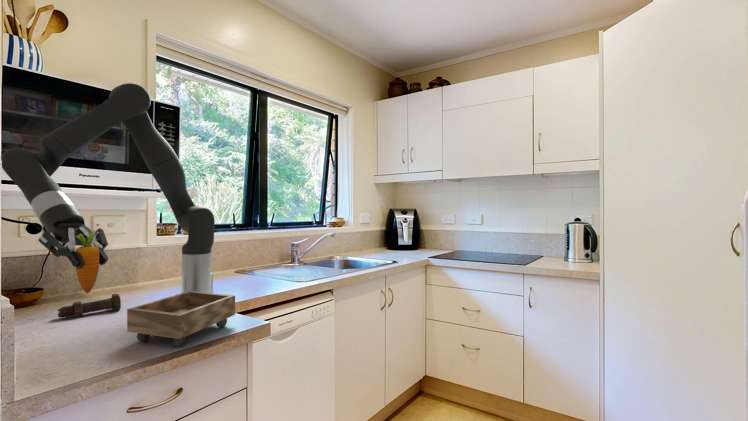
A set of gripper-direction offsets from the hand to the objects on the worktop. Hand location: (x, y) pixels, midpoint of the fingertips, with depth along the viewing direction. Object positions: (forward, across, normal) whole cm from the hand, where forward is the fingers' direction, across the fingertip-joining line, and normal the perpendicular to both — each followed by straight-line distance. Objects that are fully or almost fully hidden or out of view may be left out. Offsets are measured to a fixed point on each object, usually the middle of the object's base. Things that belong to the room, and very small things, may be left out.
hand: (93, 264), depth 88 cm
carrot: (+4, 0, +6) cm, 8 cm away
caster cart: (+24, +14, +4) cm, 28 cm away
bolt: (-4, +18, +33) cm, 38 cm away
